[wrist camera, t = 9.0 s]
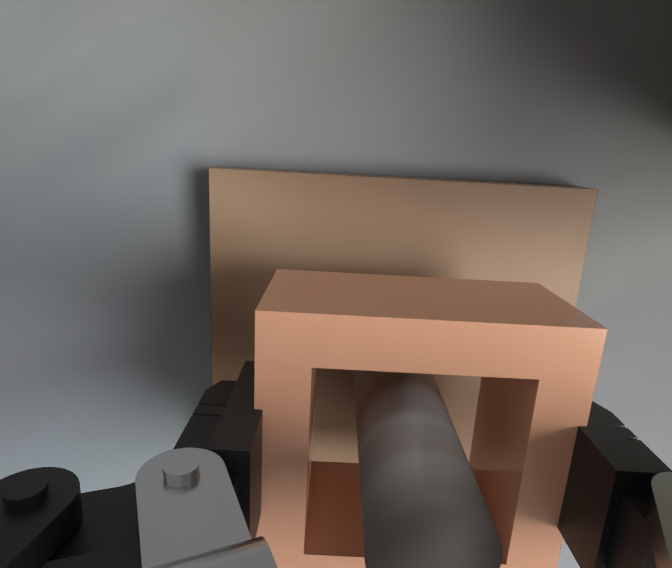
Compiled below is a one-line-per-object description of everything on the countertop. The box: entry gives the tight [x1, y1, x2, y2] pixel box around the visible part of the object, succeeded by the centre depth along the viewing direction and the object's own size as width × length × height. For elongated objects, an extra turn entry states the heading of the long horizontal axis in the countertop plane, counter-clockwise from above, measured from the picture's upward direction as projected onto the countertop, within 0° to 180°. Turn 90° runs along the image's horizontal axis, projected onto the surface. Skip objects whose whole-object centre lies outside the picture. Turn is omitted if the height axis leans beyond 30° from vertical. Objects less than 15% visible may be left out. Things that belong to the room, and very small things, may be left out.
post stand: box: [209, 167, 598, 568], centre depth 11 cm, size 10×10×8 cm
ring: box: [254, 269, 607, 568], centre depth 11 cm, size 6×6×3 cm
